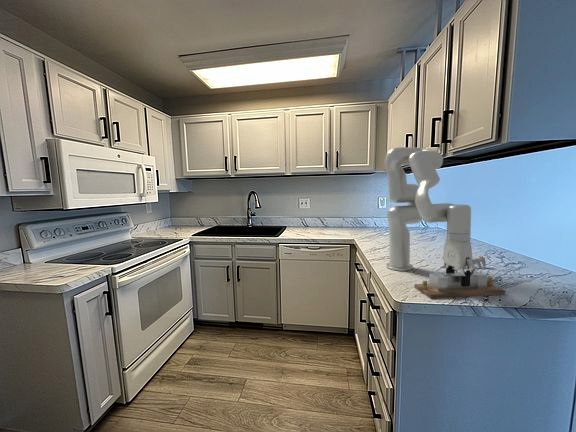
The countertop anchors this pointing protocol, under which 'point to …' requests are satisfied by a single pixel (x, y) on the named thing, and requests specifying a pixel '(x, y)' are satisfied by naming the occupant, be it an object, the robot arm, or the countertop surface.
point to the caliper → (476, 261)
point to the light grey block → (456, 281)
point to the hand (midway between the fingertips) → (457, 282)
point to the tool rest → (459, 291)
